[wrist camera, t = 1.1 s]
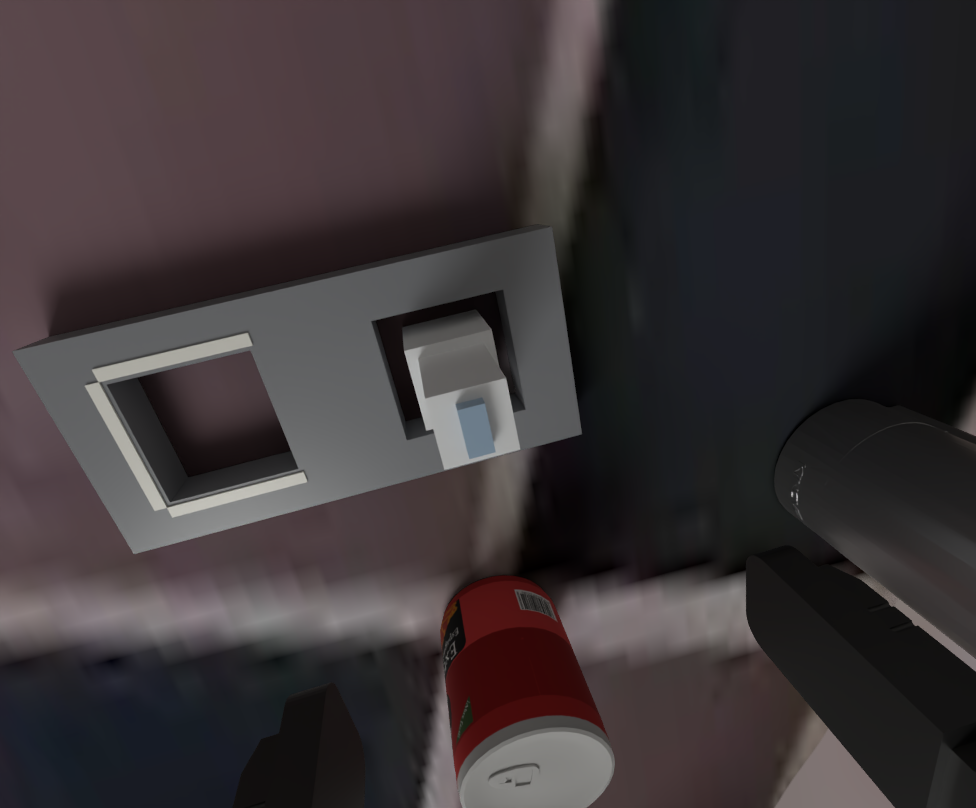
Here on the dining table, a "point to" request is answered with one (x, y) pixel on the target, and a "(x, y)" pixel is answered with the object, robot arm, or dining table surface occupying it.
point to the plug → (461, 388)
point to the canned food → (519, 702)
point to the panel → (300, 384)
